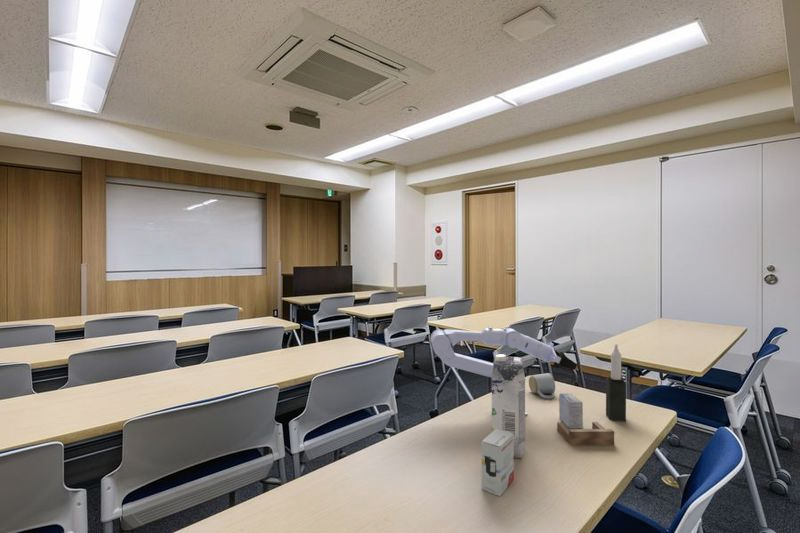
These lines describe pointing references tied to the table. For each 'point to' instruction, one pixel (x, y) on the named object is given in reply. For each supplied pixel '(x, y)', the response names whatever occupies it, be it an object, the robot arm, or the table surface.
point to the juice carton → (509, 399)
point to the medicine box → (571, 410)
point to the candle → (616, 390)
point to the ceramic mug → (542, 385)
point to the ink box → (497, 461)
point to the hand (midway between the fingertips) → (570, 363)
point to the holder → (587, 435)
